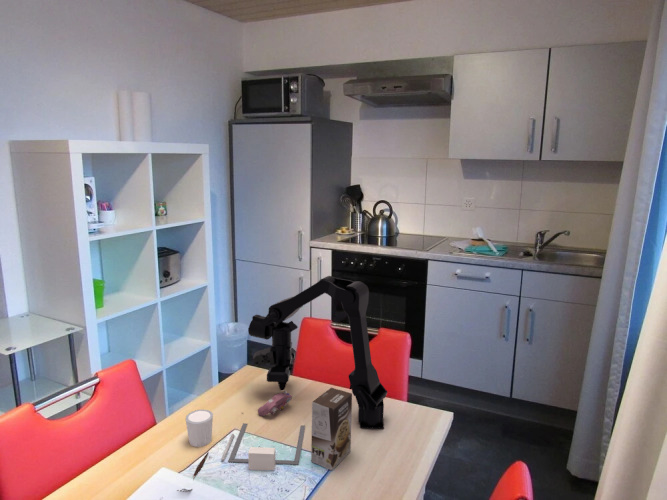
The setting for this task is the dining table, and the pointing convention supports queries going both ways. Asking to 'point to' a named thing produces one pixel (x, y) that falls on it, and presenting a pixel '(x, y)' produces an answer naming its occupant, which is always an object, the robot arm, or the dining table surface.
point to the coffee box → (331, 428)
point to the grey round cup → (199, 427)
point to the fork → (198, 468)
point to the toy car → (275, 403)
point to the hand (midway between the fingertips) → (282, 389)
